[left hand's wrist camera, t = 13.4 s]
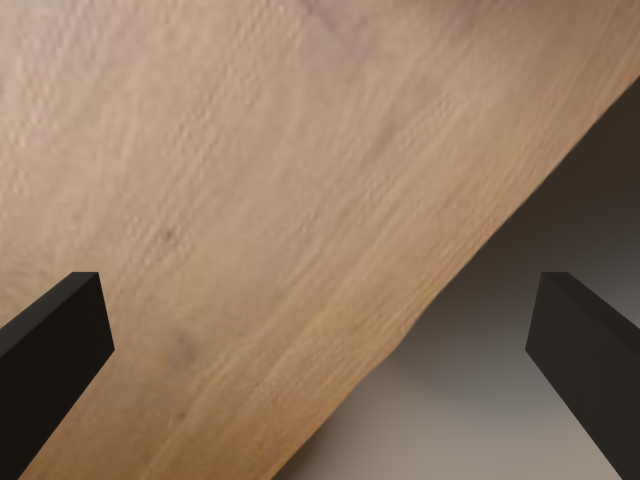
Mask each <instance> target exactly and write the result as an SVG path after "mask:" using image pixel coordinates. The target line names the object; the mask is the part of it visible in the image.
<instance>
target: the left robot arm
mask: <svg viewBox="0 0 640 480" xmlns="http://www.w3.org/2000/svg"><path fill="white" fill-rule="evenodd" d="M114 350H115V348H114V344H113V339H112V334H111V330H110V325H109V320H108V316H107V311H106V306H105V301H104V297H103V292H102V287H101V283H100V278H99V273H98V272H72V273H70V274H69V275H68V276H67V277H65V278H64V279H63V280H62V281H60V282H59V283H58V284H57V285H55V286H54V287H53V288H52V289H50V290H49V291H48V292H46V293H45V294H44V295H43V296H41V297H40V298H39V299H38V300H36V301H35V302H34V303H33V304H31V305H30V306H29V307H28V308H26V309H25V310H24V311H22V312H21V313H20V314H19V315H17V316H16V317H15V318H14V319H12V320H11V321H10V322H9V323H7V324H6V325H5V326H4V327H2V328H1V329H0V480H18V478H19V477H20V476H21V474H22V473H23V472H24V470H25V469H26V468H27V466H28V465H29V464H30V462H31V461H32V460H33V458H34V457H35V456H36V454H37V453H38V452H39V450H40V449H41V448H42V446H43V445H44V444H45V442H46V441H47V440H48V438H49V437H50V436H51V434H52V433H53V432H54V430H55V429H56V428H57V426H58V425H59V424H60V422H61V421H62V420H63V418H64V417H65V416H66V414H67V413H68V412H69V410H70V409H71V408H72V406H73V405H74V404H75V402H76V401H77V400H78V398H79V397H80V396H81V394H82V393H83V392H84V390H85V389H86V388H87V386H88V385H89V384H90V382H91V381H92V380H93V378H94V377H95V376H96V374H97V373H98V372H99V370H100V369H101V368H102V366H103V365H104V364H105V362H106V361H107V360H108V358H109V357H110V356H111V354H112V353H113V352H114ZM525 350H526V352H527V353H528V354H529V356H530V357H531V358H532V360H533V361H534V362H535V364H536V365H537V366H538V368H539V369H540V370H541V372H542V373H543V374H544V376H545V377H546V378H547V380H548V381H549V382H550V384H551V385H552V386H553V388H554V389H555V390H556V392H557V393H558V394H559V396H560V397H561V398H562V400H563V401H564V402H565V404H566V405H567V406H568V408H569V409H570V410H571V412H572V413H573V414H574V416H575V417H576V418H577V420H578V421H579V422H580V424H581V425H582V426H583V428H584V429H585V430H586V432H587V433H588V434H589V436H590V437H591V438H592V440H593V441H594V442H595V444H596V445H597V446H598V448H599V449H600V450H601V452H602V453H603V454H604V456H605V457H606V458H607V460H608V461H609V462H610V464H611V465H612V466H613V468H614V469H615V470H616V472H617V473H618V474H619V476H620V477H621V478H622V480H640V329H639V328H638V327H636V326H635V325H634V324H633V323H631V322H630V321H629V320H628V319H626V318H625V317H624V316H622V315H621V314H620V313H619V312H617V311H616V310H615V309H614V308H612V307H611V306H610V305H609V304H607V303H606V302H605V301H604V300H602V299H601V298H600V297H599V296H597V295H596V294H595V293H594V292H592V291H591V290H590V289H588V288H587V287H586V286H585V285H583V284H582V283H581V282H580V281H578V280H577V279H576V278H575V277H573V276H572V275H571V274H569V273H568V272H542V273H541V278H540V283H539V287H538V292H537V297H536V301H535V306H534V311H533V316H532V320H531V325H530V330H529V335H528V339H527V344H526V348H525Z"/></svg>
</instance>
